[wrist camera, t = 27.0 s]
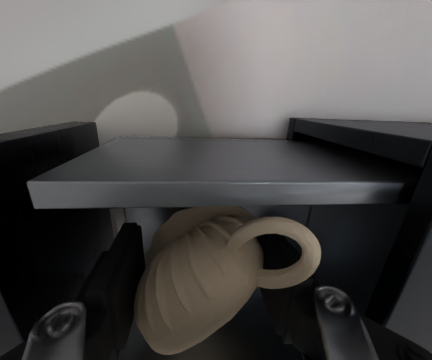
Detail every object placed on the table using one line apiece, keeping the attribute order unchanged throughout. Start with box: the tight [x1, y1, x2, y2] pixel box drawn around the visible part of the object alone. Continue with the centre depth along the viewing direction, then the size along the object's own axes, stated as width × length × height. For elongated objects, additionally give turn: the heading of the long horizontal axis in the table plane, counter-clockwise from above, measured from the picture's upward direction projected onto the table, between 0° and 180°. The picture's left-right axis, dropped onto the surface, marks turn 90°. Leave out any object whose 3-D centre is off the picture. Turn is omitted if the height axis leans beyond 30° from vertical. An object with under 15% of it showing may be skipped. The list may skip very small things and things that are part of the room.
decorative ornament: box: [134, 206, 321, 355], centre depth 9 cm, size 4×8×5 cm, turn 128°
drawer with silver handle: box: [0, 122, 424, 360], centre depth 10 cm, size 23×11×8 cm, turn 88°
